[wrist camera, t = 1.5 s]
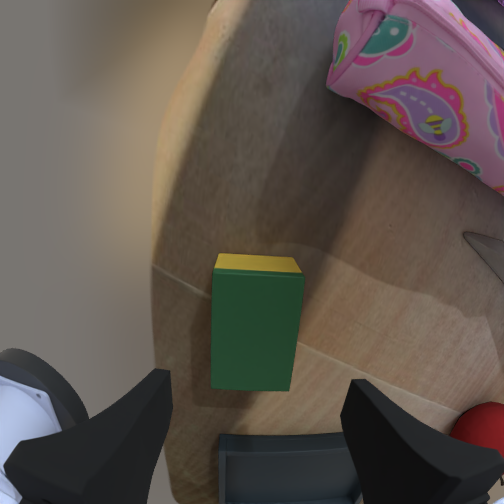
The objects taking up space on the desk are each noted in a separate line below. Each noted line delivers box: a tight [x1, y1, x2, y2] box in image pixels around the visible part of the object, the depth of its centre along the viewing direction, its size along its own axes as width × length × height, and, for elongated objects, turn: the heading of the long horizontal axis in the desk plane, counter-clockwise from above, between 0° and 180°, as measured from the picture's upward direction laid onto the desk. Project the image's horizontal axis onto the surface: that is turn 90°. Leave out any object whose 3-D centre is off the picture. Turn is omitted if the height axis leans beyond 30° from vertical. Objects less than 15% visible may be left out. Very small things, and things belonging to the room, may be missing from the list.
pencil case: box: [326, 0, 504, 196], centre depth 13 cm, size 21×9×9 cm, turn 69°
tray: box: [218, 432, 363, 504], centre depth 23 cm, size 15×12×2 cm
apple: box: [450, 402, 504, 486], centre depth 19 cm, size 9×9×10 cm
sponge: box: [211, 253, 305, 391], centre depth 18 cm, size 4×7×4 cm, turn 176°
